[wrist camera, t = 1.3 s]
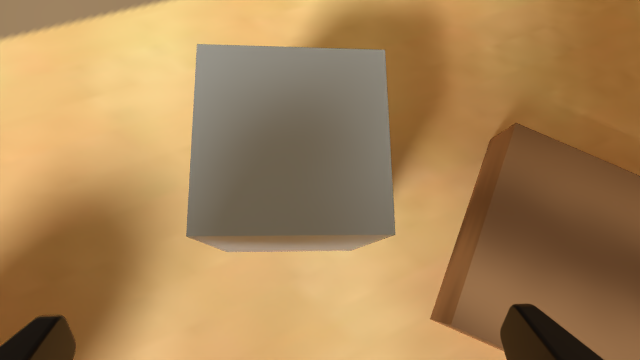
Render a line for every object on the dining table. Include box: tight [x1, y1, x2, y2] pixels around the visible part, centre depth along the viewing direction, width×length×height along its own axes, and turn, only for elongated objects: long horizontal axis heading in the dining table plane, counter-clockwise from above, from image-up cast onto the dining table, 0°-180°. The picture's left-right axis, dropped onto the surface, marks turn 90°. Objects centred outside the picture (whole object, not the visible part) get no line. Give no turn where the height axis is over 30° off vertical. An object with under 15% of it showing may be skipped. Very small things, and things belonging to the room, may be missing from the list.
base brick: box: [430, 123, 640, 360], centre depth 20 cm, size 10×10×3 cm
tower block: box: [186, 44, 395, 252], centre depth 17 cm, size 6×6×8 cm
